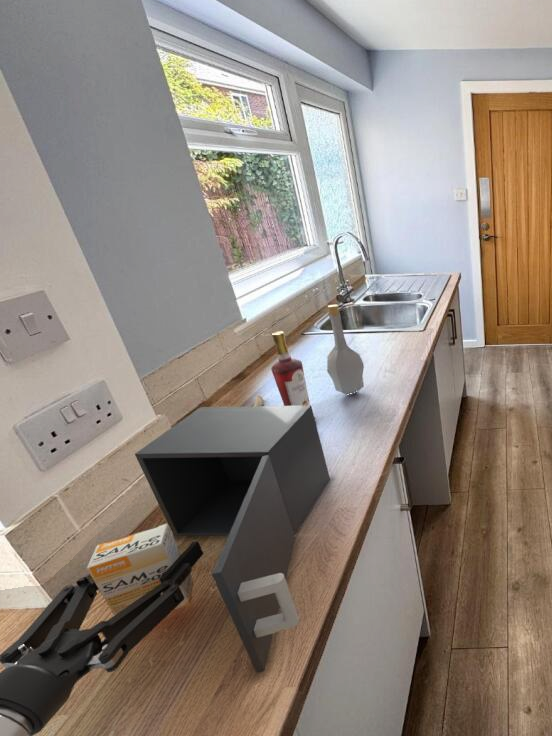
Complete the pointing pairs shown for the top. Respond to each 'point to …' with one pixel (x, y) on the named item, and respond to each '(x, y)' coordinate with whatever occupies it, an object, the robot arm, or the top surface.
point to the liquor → (289, 375)
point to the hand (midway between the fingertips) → (168, 547)
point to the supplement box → (135, 567)
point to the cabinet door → (258, 566)
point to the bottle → (343, 359)
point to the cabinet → (233, 465)
